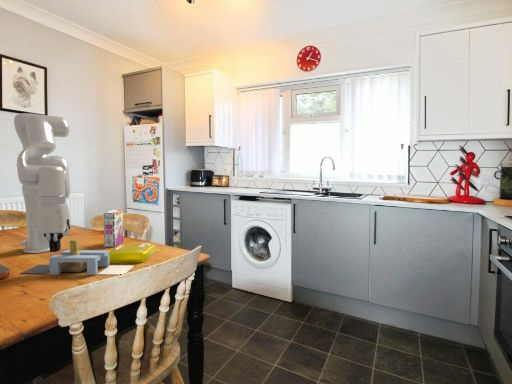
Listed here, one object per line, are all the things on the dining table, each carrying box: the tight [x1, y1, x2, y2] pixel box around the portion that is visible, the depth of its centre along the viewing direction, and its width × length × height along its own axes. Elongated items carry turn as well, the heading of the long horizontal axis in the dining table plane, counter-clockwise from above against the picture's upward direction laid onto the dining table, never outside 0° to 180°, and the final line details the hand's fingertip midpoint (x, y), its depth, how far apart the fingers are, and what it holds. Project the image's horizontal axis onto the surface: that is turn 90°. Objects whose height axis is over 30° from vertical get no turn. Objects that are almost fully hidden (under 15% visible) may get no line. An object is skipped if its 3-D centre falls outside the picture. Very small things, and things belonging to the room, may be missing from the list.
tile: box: [97, 264, 135, 276], centre depth 104 cm, size 9×9×1 cm
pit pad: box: [19, 263, 50, 275], centre depth 104 cm, size 9×9×1 cm
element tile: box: [109, 243, 156, 264], centre depth 120 cm, size 15×15×5 cm
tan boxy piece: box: [60, 239, 87, 273], centre depth 104 cm, size 7×6×11 cm
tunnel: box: [48, 249, 111, 276], centre depth 104 cm, size 16×9×6 cm, turn 90°
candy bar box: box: [103, 209, 124, 248], centre depth 139 cm, size 11×5×16 cm, turn 5°
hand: (55, 251), depth 104 cm, fingers closed
